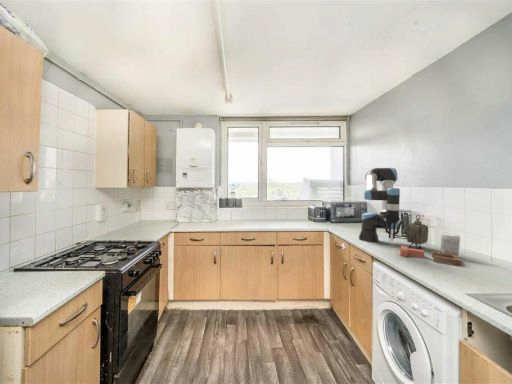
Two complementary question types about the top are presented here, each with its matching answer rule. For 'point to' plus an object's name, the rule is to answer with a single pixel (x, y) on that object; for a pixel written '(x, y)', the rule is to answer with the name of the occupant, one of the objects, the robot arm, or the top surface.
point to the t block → (411, 252)
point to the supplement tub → (450, 243)
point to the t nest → (446, 258)
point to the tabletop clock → (417, 233)
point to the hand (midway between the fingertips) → (391, 243)
